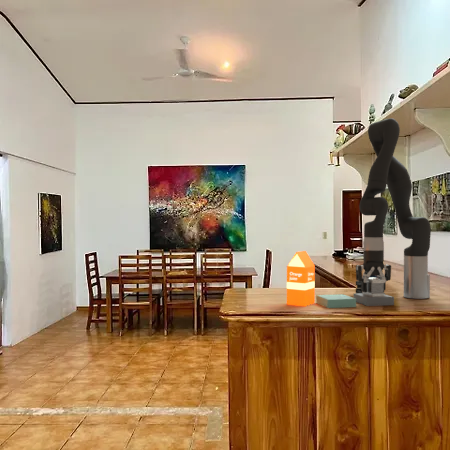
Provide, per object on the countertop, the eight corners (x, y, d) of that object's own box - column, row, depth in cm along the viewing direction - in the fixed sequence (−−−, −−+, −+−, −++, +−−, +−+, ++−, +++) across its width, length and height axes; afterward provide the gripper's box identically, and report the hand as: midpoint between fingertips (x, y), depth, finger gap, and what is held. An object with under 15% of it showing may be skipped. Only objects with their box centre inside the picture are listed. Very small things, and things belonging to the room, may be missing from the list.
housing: (362, 293, 189) (362, 277, 189) (374, 293, 190) (374, 277, 190) (372, 297, 182) (372, 280, 182) (384, 296, 183) (384, 279, 183)
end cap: (375, 299, 195) (375, 282, 195) (357, 298, 196) (357, 282, 196) (372, 295, 205) (372, 279, 205) (355, 295, 206) (355, 279, 206)
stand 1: (342, 301, 188) (342, 294, 188) (356, 306, 178) (356, 298, 177) (316, 302, 186) (316, 295, 186) (328, 307, 175) (328, 299, 175)
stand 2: (379, 300, 193) (379, 292, 192) (394, 304, 182) (394, 297, 182) (353, 301, 190) (353, 293, 190) (367, 305, 180) (367, 297, 179)
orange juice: (286, 304, 183) (286, 251, 183) (296, 301, 190) (296, 250, 190) (305, 306, 178) (305, 252, 178) (315, 303, 186) (315, 251, 186)
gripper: (385, 248, 191) (385, 290, 191) (351, 248, 188) (351, 291, 188) (395, 249, 184) (395, 292, 184) (361, 249, 181) (360, 294, 181)
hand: (373, 291), depth 186 cm, fingers open, 7 cm apart
